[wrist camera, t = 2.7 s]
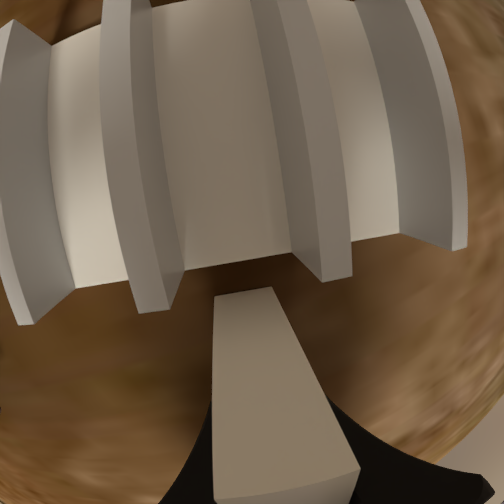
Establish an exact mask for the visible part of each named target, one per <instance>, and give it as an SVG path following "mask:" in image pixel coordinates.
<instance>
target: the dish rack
mask: <svg viewBox="0 0 504 504" xmlns="http://www.w3.org/2000/svg"><path fill="white" fill-rule="evenodd" d="M467 231H468V201H467V180H466V167H465V157H464V149H463V142H462V135H461V129H460V123H459V118H458V112H457V108H456V103H455V99H454V94H453V90H452V87H451V83H450V79H449V76H448V72H447V69H446V65H445V62H444V59H443V56H442V53H441V50H440V47H439V45H438V42H437V39H436V37H435V34H434V32H433V29H432V27H431V24H430V22H429V19H428V17H427V15H426V13H425V11H424V8H423V6H422V4H421V2H420V0H355V1H354V2H353V1H347V0H187V1H182V2H177V3H172V4H167V5H162V6H158V7H154V8H152V7H151V4H150V1H149V0H104V2H103V10H102V20H101V24H100V25H97V26H94V27H92V28H89V29H87V30H85V31H82V32H80V33H78V34H76V35H73V36H71V37H69V38H67V39H65V40H63V41H61V42H59V43H57V44H55V45H53V46H51V45H50V44H48V43H47V42H45V41H44V40H43V39H41V38H40V37H39V36H37V35H36V34H34V33H33V32H32V31H30V30H29V29H27V28H26V27H25V26H23V25H22V24H20V23H19V22H18V21H16V20H15V19H13V20H12V21H10V22H9V23H7V24H6V25H5V26H3V27H2V28H1V29H0V275H1V278H2V281H3V284H4V288H5V291H6V294H7V297H8V300H9V302H10V305H11V308H12V310H13V313H14V316H15V318H16V321H17V323H18V325H30V324H35V323H36V322H37V321H38V320H39V319H41V318H42V317H43V316H44V315H45V314H46V313H47V312H48V311H50V310H51V309H52V308H53V307H54V306H55V305H56V304H58V303H59V302H60V301H61V300H62V299H64V298H65V297H66V296H67V295H68V294H69V293H71V292H72V291H73V290H74V289H75V288H81V287H87V286H93V285H99V284H105V283H112V282H118V281H124V280H129V282H130V286H131V290H132V293H133V296H134V300H135V303H136V306H137V309H138V313H139V314H140V313H147V312H155V311H162V310H169V309H170V308H171V305H172V303H173V300H174V297H175V295H176V292H177V289H178V287H179V284H180V282H181V279H182V276H183V274H184V271H185V270H190V269H196V268H202V267H208V266H214V265H220V264H226V263H232V262H238V261H243V260H249V259H255V258H261V257H267V256H272V255H278V254H284V253H290V252H292V253H293V254H294V255H295V256H296V257H297V258H298V259H299V260H300V261H301V262H302V263H303V264H304V265H305V266H306V267H307V268H308V269H309V270H310V271H311V272H312V273H313V274H314V275H315V276H316V277H317V278H318V279H319V280H320V281H321V282H322V283H323V282H327V281H332V280H337V279H341V278H346V277H351V276H352V252H351V242H352V241H357V240H363V239H368V238H374V237H379V236H385V235H390V234H396V233H401V234H404V235H407V236H410V237H413V238H416V239H419V240H422V241H425V242H427V243H430V244H433V245H436V246H439V247H441V248H444V249H447V250H449V251H455V250H458V249H462V248H465V247H467Z"/></svg>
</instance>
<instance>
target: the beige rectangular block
mask: <svg viewBox="0 0 504 504" xmlns="http://www.w3.org/2000/svg"><path fill="white" fill-rule="evenodd" d="M212 454H213V489H214V500H215V501H216V503H217V504H349V501H350V499H351V496H352V493H353V490H354V488H355V485H356V482H357V479H358V476H359V473H360V470H361V468H360V466H359V464H358V462H357V460H356V458H355V456H354V454H353V452H352V450H351V448H350V446H349V444H348V442H347V439H346V437H345V435H344V433H343V431H342V429H341V427H340V425H339V423H338V421H337V419H336V417H335V415H334V413H333V411H332V409H331V407H330V405H329V403H328V401H327V398H326V396H325V394H324V392H323V390H322V388H321V386H320V384H319V382H318V380H317V378H316V376H315V374H314V372H313V370H312V368H311V366H310V364H309V362H308V360H307V358H306V356H305V354H304V351H303V349H302V347H301V345H300V343H299V341H298V339H297V337H296V335H295V333H294V331H293V329H292V327H291V325H290V323H289V321H288V319H287V317H286V315H285V313H284V311H283V309H282V307H281V305H280V303H279V301H278V299H277V297H276V295H275V292H274V290H273V288H272V286H271V287H265V288H260V289H254V290H248V291H243V292H237V293H231V294H225V295H219V296H214V322H213V361H212Z"/></svg>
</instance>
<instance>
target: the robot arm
mask: <svg viewBox="0 0 504 504" xmlns="http://www.w3.org/2000/svg"><path fill="white" fill-rule="evenodd" d="M325 396H326V395H325ZM326 398H327V401H328V403H329V405H330V407H331V409H332V411H333V413H334V415H335V417H336V419H337V421H338V423H339V425H340V427H341V429H342V431H343V433H344V435H345V437H346V439H347V442H348V444H349V446H350V448H351V450H352V452H353V454H354V456H355V458H356V460H357V462H358V464H359V466H360V468H361V470H360V473H359V476H358V479H357V482H356V485H355V488H354V490H353V493H352V496H351V499H350V501H349V504H484V503H485V502H486V501H488V500H489V499H490V498H491V497H492V496H493V495H494V493H495V491H494V489H493V488H492V487H491V486H490V484H489V483H488V481H487V480H486V479H485V478H483V476H482V475H480V474H473V473H467V472H461V471H456V470H452V469H447V468H444V467H440V466H437V465H434V464H431V463H428V462H426V461H423V460H420V459H418V458H415V457H413V456H410V455H408V454H406V453H404V452H402V451H400V450H398V449H396V448H394V447H392V446H390V445H389V444H387V443H385V442H383V441H382V440H380V439H379V438H377V437H375V436H374V435H372V434H371V433H370V432H368V431H367V430H365V429H364V428H363V427H361V426H360V425H359V424H357V423H356V422H355V421H353V420H352V419H351V418H350V417H349V416H348V415H346V414H345V413H344V412H343V411H342V410H341V409H339V408H338V407H337V406H336V405H335V404H334V403H333V402H332V401H331V400H330V399H329V398H328V397H327V396H326ZM158 504H217V503H216V501H215V500H214V489H213V454H212V401H211V402H210V405H209V409H208V412H207V415H206V418H205V421H204V423H203V426H202V429H201V431H200V434H199V436H198V438H197V441H196V443H195V445H194V447H193V449H192V451H191V453H190V455H189V457H188V459H187V461H186V463H185V465H184V467H183V468H182V470H181V472H180V474H179V475H178V477H177V478H176V480H175V482H174V483H173V485H172V486H171V487H170V489H169V490H168V492H167V493H166V494H165V496H164V497H163V498H162V500H161V501H160V502H159V503H158ZM501 504H504V501H503V502H502V503H501Z"/></svg>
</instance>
